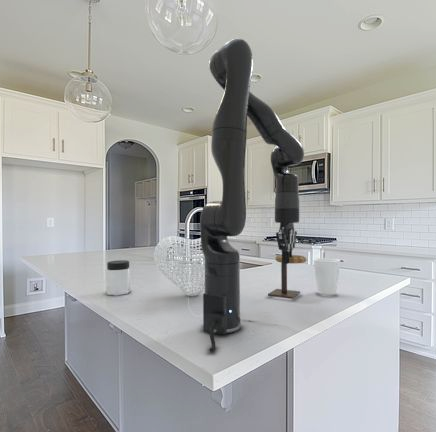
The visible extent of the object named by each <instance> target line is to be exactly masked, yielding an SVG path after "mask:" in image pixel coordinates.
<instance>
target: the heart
mask: <svg viewBox="0 0 436 432" xmlns="http://www.w3.org/2000/svg"><path fill="white" fill-rule="evenodd" d="M174 247H175V249H174ZM178 248H179V249H178ZM191 251H193V252H191ZM174 252H175V253H174ZM201 253H202V255H201ZM191 255H192V256H191ZM194 255H195V256H194ZM153 258H154V263H155V265H156V267H157V268H158V270H159V271H160V272H161V273H162V274H163V276H164V277H165V278H167V279H168V280H169V281H171V283H173V284H174V285H175V286H176V287H177V288H179V290H180V291H182V292H183V293H184V294H185V295H187V296H189V297H195V296H198V295H199V294H200V293H202V292H203V291H205V258H204V254H203V252H202V247H201V237H199V238H196V239H191V238H190V239H189V238H187V237H186V238H185V237H182V236H178V235H169V236H166V237H164V238H162V239H161V240H160V241H158V242H157V244H156V245H155V248H154V251H153ZM187 259H188V260H187ZM191 259H192V260H191ZM198 259H199V260H198Z"/></svg>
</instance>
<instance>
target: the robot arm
mask: <svg viewBox="0 0 436 432" xmlns="http://www.w3.org/2000/svg"><path fill="white" fill-rule="evenodd" d="M208 61H209V62H208V67H209V71H210V73H211V76H212V77H213V79H214V80H215V81H216V83H217V84H218V85H219V86H220V88H222V89H223V90H224V92H223V96H222V98H221V101H220V104H219V106H218V108H217V111H216V114H215V116H214V119H213V123H212V127H211V139H210V140H211V141H210V150H211V151H210V152H211V155H212V158H213V161H214V163H215V165H216V167H217V169H218V171H219V173H220V176H221V181H222V197H221V200H215V201H209V202H207V203H206V204H205V205H204V206H203V207H202V209H201V212H200V218H199V227H200V238H201V242H200V243H201V245H200V247H202V248H201V251H202V252H201V253H202V255H203V254H204V258H205V266H204V268H205V269H204V270H205V271H204V273H205V275H204V277H205V289H204V292H203V294H202V309H203V310H202V322H203V323H202V327H203V329H202V331H203V332H208V333H209V338H210V344H211V345H210V348H209V350H208V351H209V352H210V353H213V352H214V351H215V349H216V340H215V334H217V335H222V336H225V335H227V334H232V333H235V332H237V331H239V330H240V329H241V290H240V289H241V283H240V282H241V278H240V277H241V276H240V275H241V274H240V273H241V269H240V268H241V261H240V260H241V259H240V257H241V255H240V251H239V250H237V249H236V248H234V247H233V246H232V245H231V243H230V242H229V240H228V237H237V236H240V234H242V232H243V231H244V229H245V226H246V221H247V201H246V200H247V199H246V152H247V138H248V137H247V134H248V131H247V130H248V127H247V126H248V119H249V120H250V122H251V123H252V125H253V126H254V128H255V129H256V131H257V133H258V134H259V135H260V137H261V138H262V140H263V142H264V143H265V144H267V145H272V146H275V147H274V148H273V149H272V150H271V153H270V164H271V169H272V172H273V177H274V179H275V197H274V222H275V223H278V224H279V229H278V231H277V232H276V233H275V237H276V241H277V248H278V250H279V251H281V255H282V263H283V264H287V265H288V264H290V263H289V258H292V255H293V251H294V249H295V248H296V242H297V241H296V240H297V234H298V232H297V230H296V229H295V225H294V224H295V223H296V224H298V223H299V222H300V194H299V176H298V174H295V173H291V172H290V171H289V168H288V167H292V166H293V167H294V166H297V165H299V164H301V163H302V162H303V161H304V159H305V151H304V148H303V145H302V143H301V142H300V141H299V140H298V139H297V138H296V137H295V136H294V135H292V133H291V132H290V131H288V130H287V128H285V126H284V125H283V123H282V121H281V120H280V118H279V116H278V115H277V113H276V112H275V110H274V109H273V108H272V107H271V106H270V105H269V104H268V103H266V102H265V101H263V100H262V99H261V98H259V97H257V96H256V95H255V94H253V93H252V92H251V91H250V89H251V81H252V76H253V70H254V55H253V51H252V49H251V46H250V45H249V43H248V42H247V41H246V40H245V39H243V38H240V37H237V38H233V39H231V40H229V41H227V42H226V43H225V44H224V45H222V46H221V47H219V48H218V49H217V50H216V51H215V52H213V54H212V55H211V56H210V58H209V60H208Z"/></svg>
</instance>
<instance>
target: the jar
mask: <svg viewBox="0 0 436 432" xmlns="http://www.w3.org/2000/svg"><path fill="white" fill-rule="evenodd" d="M105 273H106V295H108V296H116V297H117V296H121V295H123V296H124V295H128V294H129V293H130V291H131V267H130V261H129V260H124V259H123V260H121V259H120V260H118V259H117V260H111V261H107V263H106V272H105Z"/></svg>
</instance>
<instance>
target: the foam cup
mask: <svg viewBox="0 0 436 432" xmlns="http://www.w3.org/2000/svg"><path fill="white" fill-rule="evenodd" d="M313 267H314V268H313V269H314V275H315V282H316V283H315V284H316V291H317V293H318V294H320V295H327V296H329V295H330V296H333V295H337V292H338V291H337V290H338V284H339V283H338V282H339V275H340V269H341V259H338V258H331V257H330V258H328V257H316V258H313Z"/></svg>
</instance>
